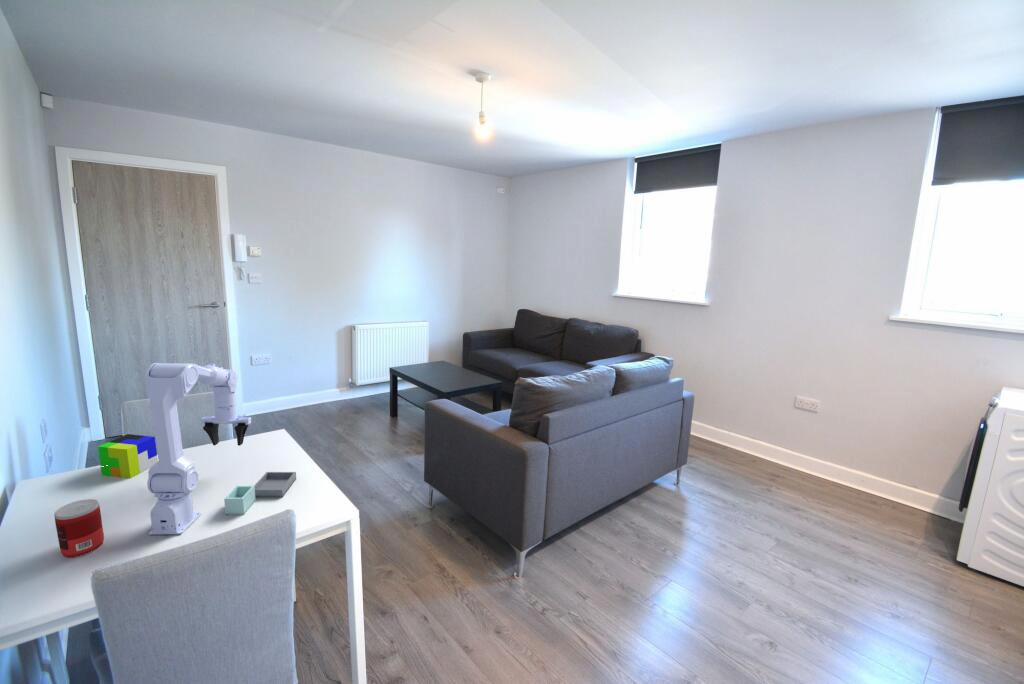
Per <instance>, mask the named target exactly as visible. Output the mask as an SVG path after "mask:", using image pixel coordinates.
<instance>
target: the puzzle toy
mask: <svg viewBox="0 0 1024 684" xmlns="http://www.w3.org/2000/svg"><path fill="white" fill-rule="evenodd" d="M97 449H98V455H99V457H98V458H99V463H100V464H99V465H100V470H101V476H104V477H105V476H106V477H113V478H123V479H132V478H135V477H137V476H138V475H140V474H142V473H144V472H146V471H149V469H150V468H151V467H152V466H153V465H154V464H155V463H157V462H158V461H159V460H158V453H157V446H156V440H155V436H151V435H140V434H131V433H130V434H129V433H127V434H125V435H121V436H120V437H118V438H115V439H112V440H111V441H108V442H106V443H105V442H104V443H103V444H100V445H98V446H97ZM106 465H108V466H106ZM101 466H104V467H101Z"/></svg>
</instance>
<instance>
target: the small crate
mask: <svg viewBox="0 0 1024 684" xmlns="http://www.w3.org/2000/svg"><path fill="white" fill-rule="evenodd" d="M254 486H255V485H236V486H235V487H234V488H233V489H232V490H231V491H230V492H229V493H228V494H227V495H226V497H224V498H223V499H224V501H223V502H224V513H225V515H227V516H229V515H230V516H233V515H239V516H240V515H242V516H243V515H245V514H246V513H247V512H248V510H249V509H250V508H251V507H252V506H253V505H254V503H255V502H256V498H255V487H254Z"/></svg>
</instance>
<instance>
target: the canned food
mask: <svg viewBox="0 0 1024 684" xmlns="http://www.w3.org/2000/svg"><path fill="white" fill-rule="evenodd" d="M99 502H100V501H99V500H98V499H94V498H88V499H87V498H86V499H81V500H76V501H73V502H70V503H67V504H65V505H63V506H61V507H59V508H58V509H57V510H56V511H55V512H54V522H55V528H56V529H55V530H56V534H57V539H58V545H59V551H60V553H61V556H63V557H65V558H77V557H76V556H78V557H81V556H80V555H82V556H85V555H87V554H86V553H88V554H89V552H90V553H92V552H94V551H96V550H97V549H98V548H100V547H101V546H102V545H103V543H104V541H105V535H104V527H103V519H102V514H101V513H102V512H101V506H100V503H99ZM95 549H96V550H95ZM93 550H94V551H93ZM91 551H92V552H91ZM84 554H85V555H84Z"/></svg>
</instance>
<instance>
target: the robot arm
mask: <svg viewBox="0 0 1024 684" xmlns="http://www.w3.org/2000/svg"><path fill="white" fill-rule="evenodd" d="M143 377H144V384H145V390H146V396H147V398H149V405H150V412H151V417H152V425H153V430H154V431H153V432H154V437H155V442H156V450H157V459H158V462H157V463H155V464H154V465H153V466H152V467H151V468H150V469H148V470H147V472H148V478H147V481H146V485H147V489H148V491H149V492H150V493H151V494H153V495H154V497H155V498H157V501H156V503H155V504H154V506H153V507H152V509H151V510H150V523H151V530H150V532H148V535H153V536H154V535H156V536H157V535H181V534H183V533H184V532H185V531H186V530H187V529H188V528H189V527H190V526H191V525H192V524H193V523H194V522H195V521H196V520H197V519H198V518H199V517H200V516H201V515H202V512H201V511H194V505H193V494H192V492H193V491H194V490H195V489H196V487H197V486H198V483H199V473H198V471H197V469H196V468H195V462H193V461H192V460H190V459H189V458H187V457H185V456H184V450H183V442H182V435H181V427H180V420H179V419H180V418H179V413H178V405H177V402H178V400H181V399H183V398H185V397H186V396H187V394H188V393H189V392H190V391H191V389H192V388H193V387H194V386H195V384H196V383H197V381H198V382H199V383H200V384H203V385H208V386H209V387H210V388H212V391H213V404H214V405H213V406H214V413H215V415H211V416H203V417H202V418H200V424H201V425H203V427H202V428H203V430H204V431H205V433H206V434H207V436H208V437H209V440H210V441H211V444H212V446H216V445H218V444H219V443H220V439H219V438H220V437H219V427H220V424H221V425H222V424H223V425H224V424H225V425H227V424H229V425H231V424H232V425H236V426H234V430H235V434H236V442H237V446H242V445H243V444H244V439H245V435H246V432H247V430H248V428H249V425H251V423H252V417H251V416H244V415H243V416H242V415H237V408H236V394H235V392H236V390H237V383H238V374H237V372H236V371H235V370H234V369H232V368H231V369H230V368H228V369H226V368H224V367H223V366H216V364H215V363H207V364H206V365H203V366H200V365H198V364H197V363H186V362H185V363H184V362H182V363H181V362H176V363H175V362H173V363H172V362H166V363H165V362H163V363H160V362H154V363H151V364H150V366H148V368H147V370H146V372H145V373H144V376H143Z"/></svg>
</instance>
